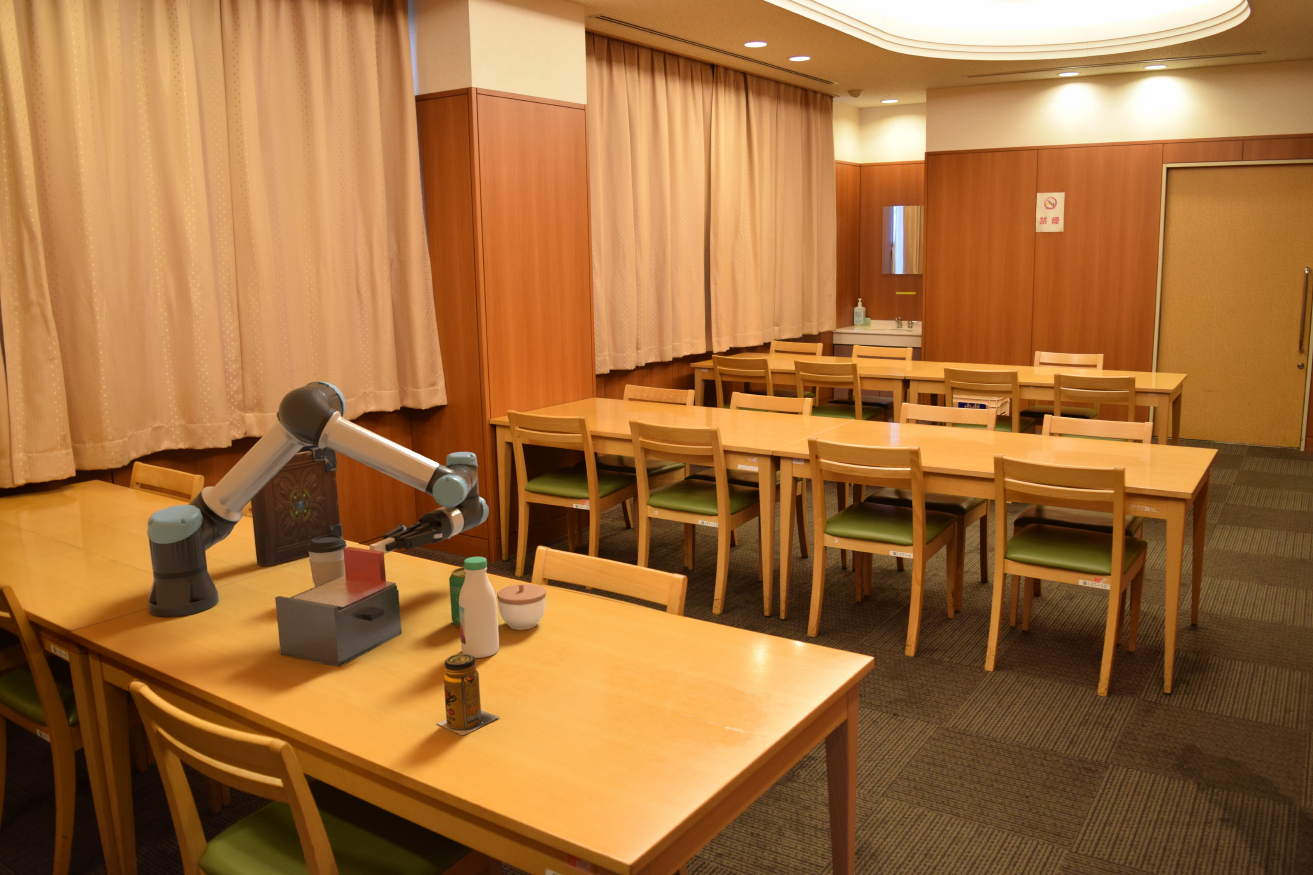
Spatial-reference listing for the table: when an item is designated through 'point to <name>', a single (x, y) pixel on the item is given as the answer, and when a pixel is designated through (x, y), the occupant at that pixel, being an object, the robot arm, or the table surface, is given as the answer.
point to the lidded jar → (522, 605)
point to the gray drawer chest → (337, 627)
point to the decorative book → (296, 506)
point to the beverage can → (456, 593)
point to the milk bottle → (478, 611)
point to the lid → (353, 580)
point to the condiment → (463, 696)
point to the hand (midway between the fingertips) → (372, 551)
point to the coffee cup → (326, 558)
